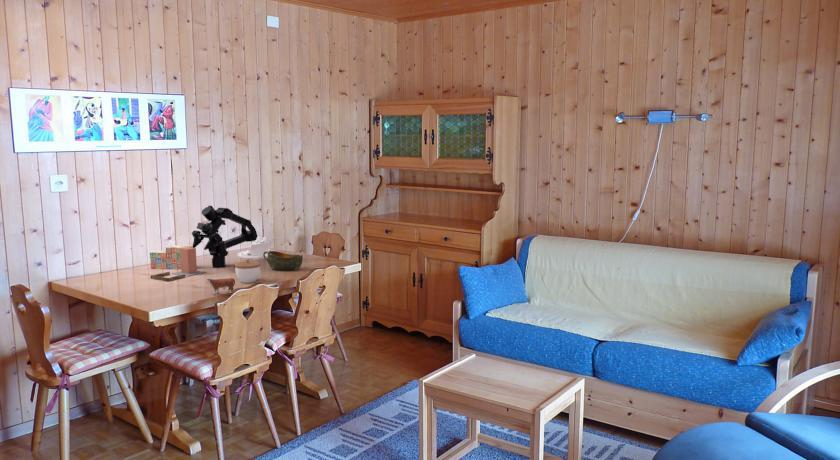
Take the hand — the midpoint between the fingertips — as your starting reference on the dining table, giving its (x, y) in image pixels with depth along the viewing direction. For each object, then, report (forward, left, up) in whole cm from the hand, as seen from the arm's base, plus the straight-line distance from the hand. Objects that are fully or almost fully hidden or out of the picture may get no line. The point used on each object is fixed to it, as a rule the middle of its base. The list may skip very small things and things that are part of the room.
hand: (198, 248), depth 359 cm
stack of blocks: (+17, -10, -13) cm, 23 cm away
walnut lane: (+13, +16, -12) cm, 24 cm away
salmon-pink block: (+4, +5, -12) cm, 14 cm away
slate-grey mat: (+4, +5, -12) cm, 14 cm away
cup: (-45, +2, -12) cm, 47 cm away
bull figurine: (-19, +54, -12) cm, 59 cm away
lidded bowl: (-29, +29, -12) cm, 43 cm away
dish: (-27, -46, -13) cm, 55 cm away
